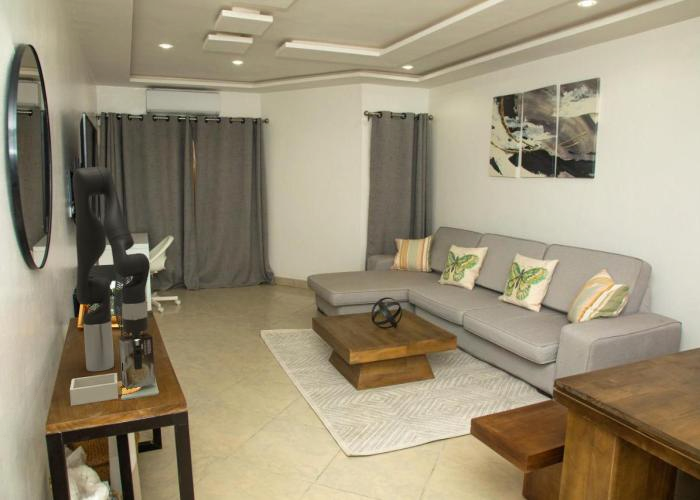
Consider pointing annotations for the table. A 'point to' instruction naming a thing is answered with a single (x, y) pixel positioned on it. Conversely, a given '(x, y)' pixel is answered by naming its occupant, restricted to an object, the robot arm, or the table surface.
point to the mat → (143, 392)
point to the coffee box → (129, 373)
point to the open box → (94, 389)
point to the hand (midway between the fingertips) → (137, 365)
